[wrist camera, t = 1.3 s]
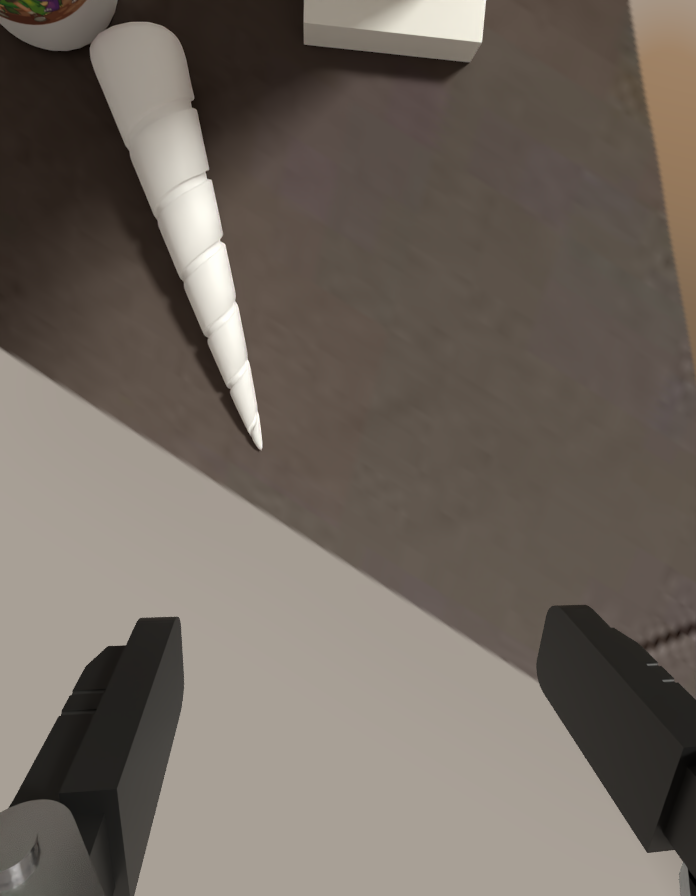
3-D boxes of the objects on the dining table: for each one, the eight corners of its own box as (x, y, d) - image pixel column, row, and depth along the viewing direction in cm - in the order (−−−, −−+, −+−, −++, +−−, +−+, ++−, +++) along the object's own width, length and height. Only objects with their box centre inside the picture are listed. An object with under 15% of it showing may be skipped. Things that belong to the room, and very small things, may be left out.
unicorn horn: (208, 459, 33) (192, 479, 29) (108, 70, 28) (68, 16, 23) (275, 446, 33) (270, 464, 29) (189, 58, 28) (166, 1, 23)
